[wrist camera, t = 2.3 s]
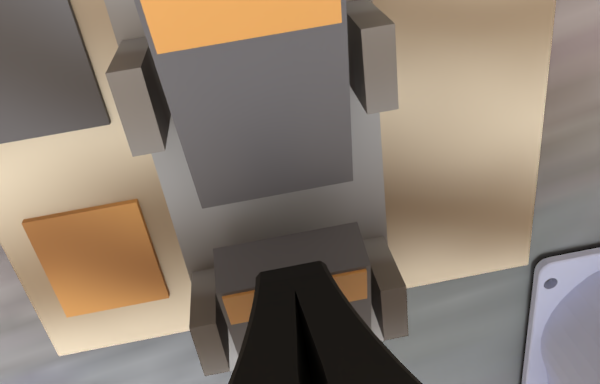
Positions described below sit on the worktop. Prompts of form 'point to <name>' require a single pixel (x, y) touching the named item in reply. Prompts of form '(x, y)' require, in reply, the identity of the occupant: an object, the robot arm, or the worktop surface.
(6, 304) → the worktop surface
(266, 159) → the block
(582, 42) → the worktop surface
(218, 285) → the block
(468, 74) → the switch panel
